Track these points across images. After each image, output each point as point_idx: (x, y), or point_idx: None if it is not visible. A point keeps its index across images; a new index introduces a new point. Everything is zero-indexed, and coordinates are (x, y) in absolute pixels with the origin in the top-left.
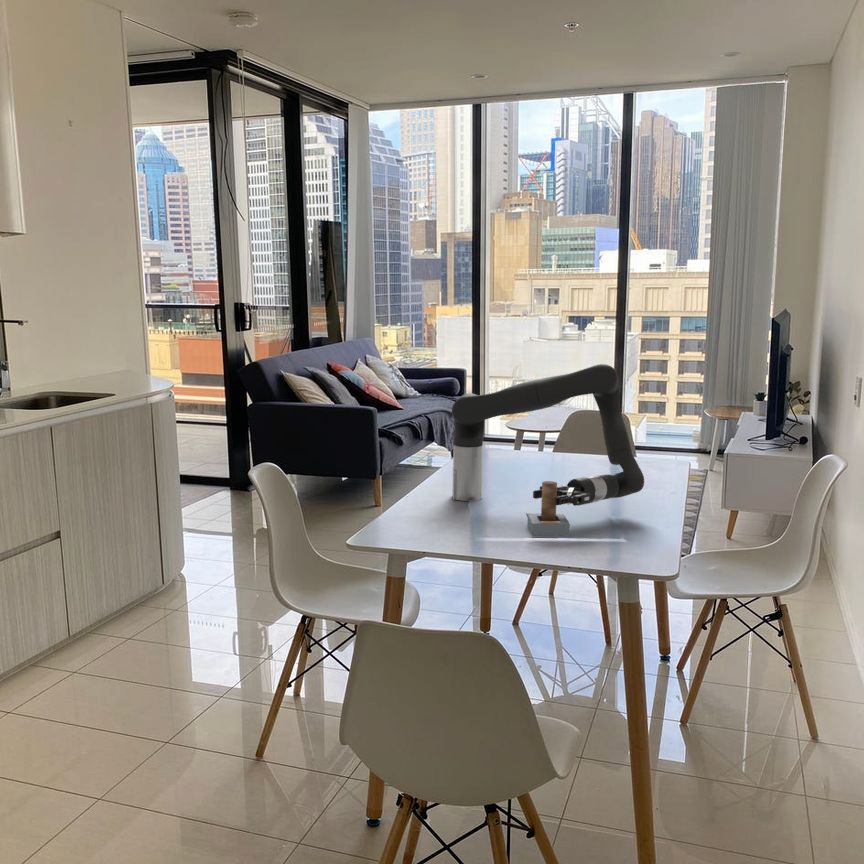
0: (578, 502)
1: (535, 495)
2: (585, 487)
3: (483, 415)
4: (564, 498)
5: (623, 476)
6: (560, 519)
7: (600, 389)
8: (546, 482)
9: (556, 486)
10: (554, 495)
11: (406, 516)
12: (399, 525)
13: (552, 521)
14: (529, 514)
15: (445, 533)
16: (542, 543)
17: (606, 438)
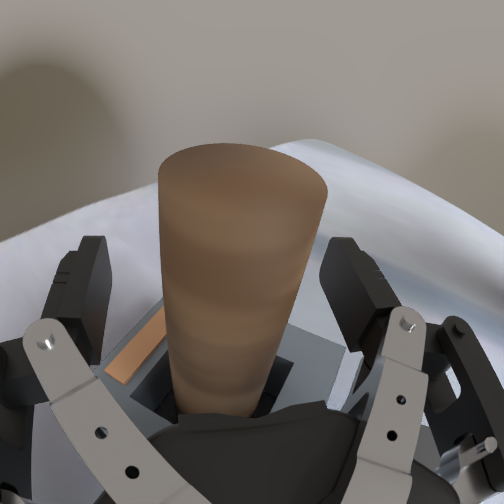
0: (5, 432)
1: (325, 262)
2: None
3: None
4: (51, 289)
5: None
6: (159, 425)
7: None
8: (272, 167)
9: (164, 219)
10: (162, 274)
11: (450, 217)
12: (394, 188)
13: (141, 351)
14: (328, 345)
15: (330, 204)
16: (116, 315)
17: None
